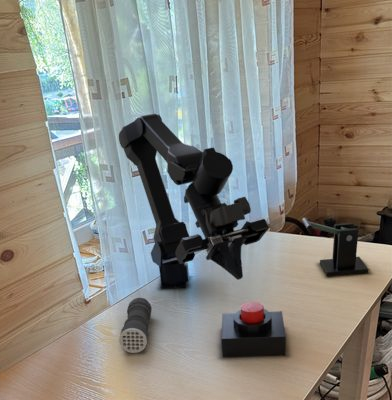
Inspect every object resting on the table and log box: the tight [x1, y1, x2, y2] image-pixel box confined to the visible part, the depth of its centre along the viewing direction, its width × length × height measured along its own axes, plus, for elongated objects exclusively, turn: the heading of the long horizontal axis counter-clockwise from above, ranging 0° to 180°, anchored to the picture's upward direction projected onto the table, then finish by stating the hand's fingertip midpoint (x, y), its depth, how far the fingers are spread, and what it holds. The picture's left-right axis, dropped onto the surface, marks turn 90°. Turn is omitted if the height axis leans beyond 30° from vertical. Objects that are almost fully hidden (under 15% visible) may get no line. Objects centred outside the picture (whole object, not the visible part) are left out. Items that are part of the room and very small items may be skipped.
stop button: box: [240, 301, 265, 323], centre depth 99 cm, size 4×4×2 cm
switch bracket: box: [319, 222, 369, 278], centre depth 126 cm, size 10×8×11 cm
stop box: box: [220, 308, 287, 358], centre depth 101 cm, size 12×10×6 cm
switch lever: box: [301, 217, 349, 235], centre depth 123 cm, size 12×6×2 cm, turn 92°
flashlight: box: [118, 297, 152, 354], centre depth 108 cm, size 15×5×5 cm, turn 0°
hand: (240, 278), depth 99 cm, fingers closed
